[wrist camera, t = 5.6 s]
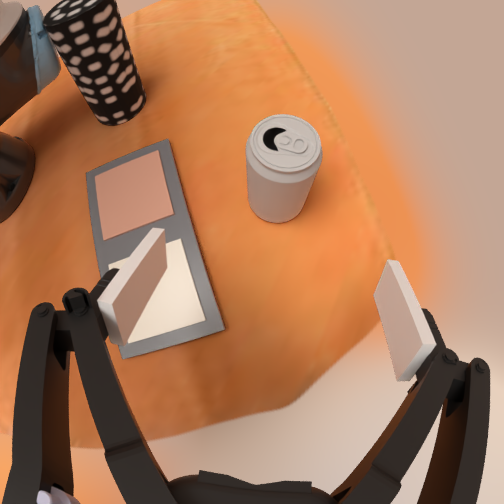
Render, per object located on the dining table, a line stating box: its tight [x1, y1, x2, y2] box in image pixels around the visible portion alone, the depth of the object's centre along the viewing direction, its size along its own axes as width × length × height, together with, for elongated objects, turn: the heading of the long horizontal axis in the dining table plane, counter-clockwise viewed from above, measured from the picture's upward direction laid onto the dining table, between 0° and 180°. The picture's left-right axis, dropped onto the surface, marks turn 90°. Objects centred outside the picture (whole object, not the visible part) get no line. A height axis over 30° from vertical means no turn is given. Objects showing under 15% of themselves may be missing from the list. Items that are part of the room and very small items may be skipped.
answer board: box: [86, 139, 226, 359], centre depth 32 cm, size 24×12×2 cm, turn 19°
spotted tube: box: [43, 0, 146, 125], centre depth 28 cm, size 8×8×20 cm
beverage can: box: [246, 114, 322, 223], centre depth 28 cm, size 6×6×12 cm
